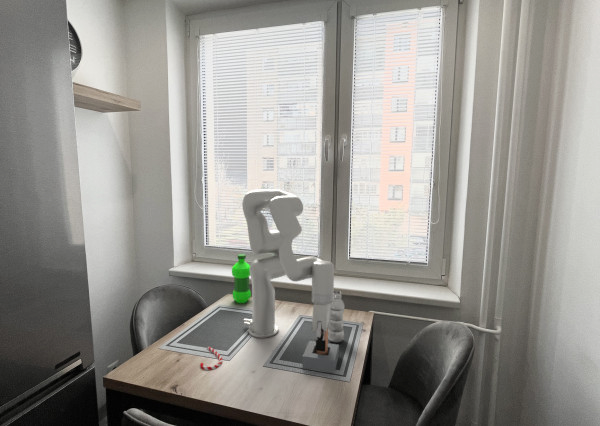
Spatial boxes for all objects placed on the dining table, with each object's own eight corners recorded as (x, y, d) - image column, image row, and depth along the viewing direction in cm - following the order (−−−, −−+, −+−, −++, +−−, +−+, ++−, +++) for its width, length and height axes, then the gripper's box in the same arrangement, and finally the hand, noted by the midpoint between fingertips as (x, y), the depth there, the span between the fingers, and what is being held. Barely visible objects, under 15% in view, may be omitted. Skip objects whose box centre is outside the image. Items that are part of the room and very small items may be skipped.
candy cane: (217, 344, 125) (224, 364, 111) (217, 347, 125) (224, 368, 111) (196, 348, 122) (201, 369, 108) (196, 351, 122) (201, 373, 108)
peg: (315, 356, 113) (315, 328, 112) (317, 350, 117) (317, 324, 116) (326, 358, 112) (327, 330, 111) (328, 352, 116) (328, 325, 115)
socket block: (302, 368, 111) (302, 356, 110) (309, 352, 121) (309, 340, 121) (334, 373, 108) (334, 360, 108) (338, 356, 119) (338, 344, 118)
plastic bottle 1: (234, 297, 177) (234, 252, 174) (253, 298, 176) (253, 253, 173) (229, 304, 167) (228, 256, 165) (249, 305, 166) (249, 257, 163)
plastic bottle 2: (343, 345, 127) (344, 296, 125) (326, 343, 128) (327, 294, 126) (344, 337, 133) (345, 290, 131) (328, 336, 134) (329, 289, 132)
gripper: (316, 288, 121) (316, 335, 123) (306, 304, 105) (306, 358, 107) (336, 290, 120) (335, 337, 121) (329, 306, 103) (328, 361, 105)
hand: (321, 346), depth 114 cm, fingers closed on peg, 4 cm apart
